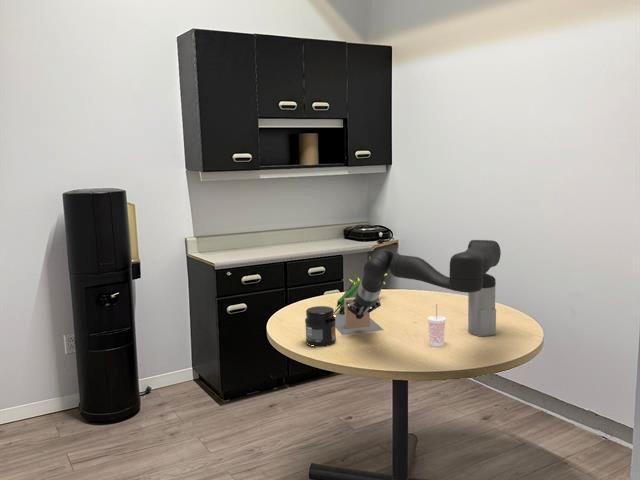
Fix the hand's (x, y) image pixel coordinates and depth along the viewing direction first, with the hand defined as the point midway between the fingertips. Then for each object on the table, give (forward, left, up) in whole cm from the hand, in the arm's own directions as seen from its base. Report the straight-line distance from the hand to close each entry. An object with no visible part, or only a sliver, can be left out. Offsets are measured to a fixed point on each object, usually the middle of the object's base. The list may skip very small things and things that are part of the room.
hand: (358, 316), depth 216 cm
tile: (+4, -1, -5) cm, 7 cm away
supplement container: (-8, +16, -6) cm, 19 cm away
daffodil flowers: (+32, -11, -6) cm, 34 cm away
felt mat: (+10, -1, -6) cm, 12 cm away
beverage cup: (-22, -21, -6) cm, 31 cm away
